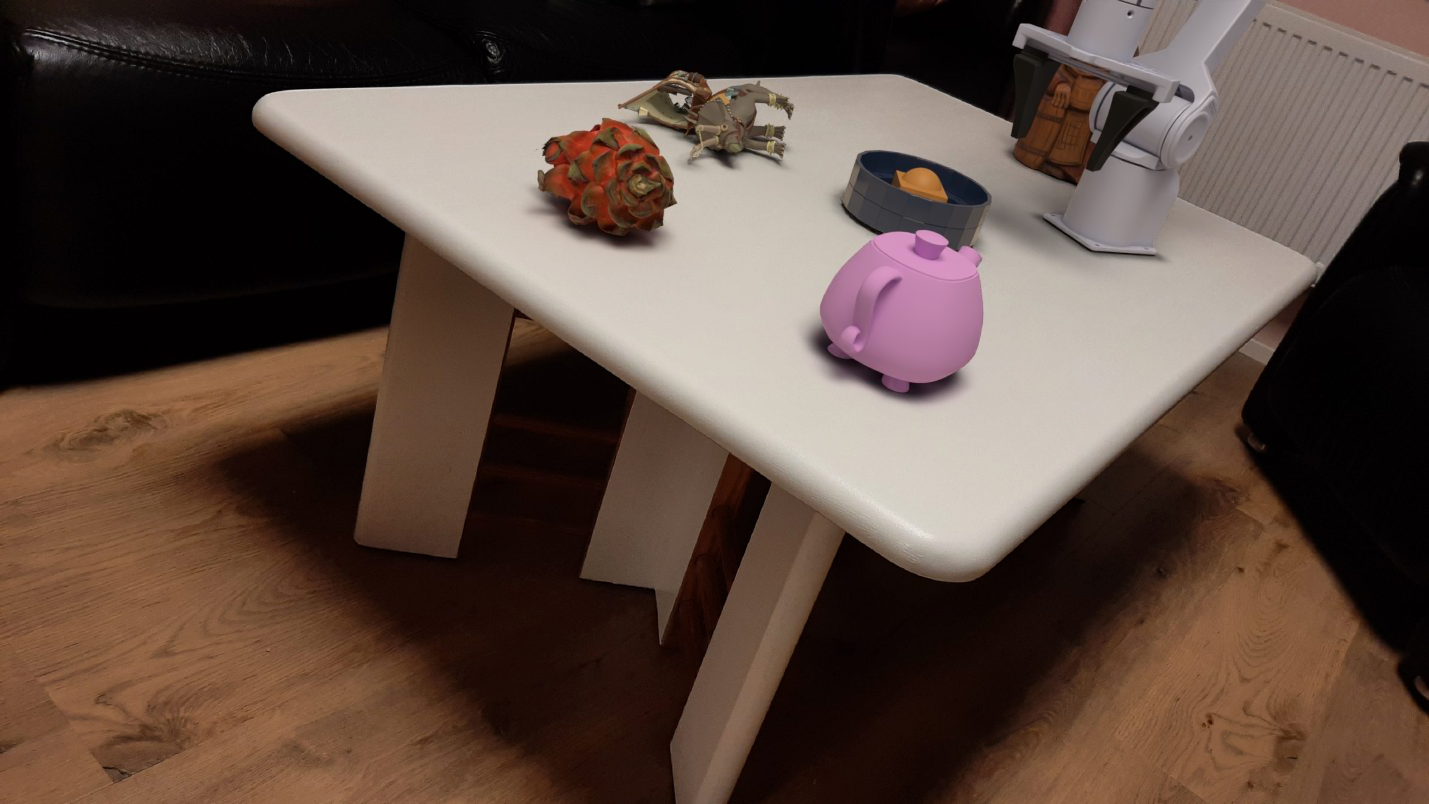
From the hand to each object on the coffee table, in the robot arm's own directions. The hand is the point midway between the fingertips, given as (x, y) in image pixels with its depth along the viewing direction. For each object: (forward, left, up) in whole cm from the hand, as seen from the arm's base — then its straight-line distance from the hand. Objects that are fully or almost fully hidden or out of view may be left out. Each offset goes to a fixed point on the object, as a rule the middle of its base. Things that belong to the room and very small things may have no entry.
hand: (1054, 153), depth 94 cm
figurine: (+24, -22, -10) cm, 34 cm away
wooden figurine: (-25, -24, -10) cm, 36 cm away
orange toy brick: (+10, -4, -9) cm, 14 cm away
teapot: (+27, +20, -10) cm, 35 cm away
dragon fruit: (+42, 0, -10) cm, 43 cm away
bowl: (+10, -4, -9) cm, 14 cm away
